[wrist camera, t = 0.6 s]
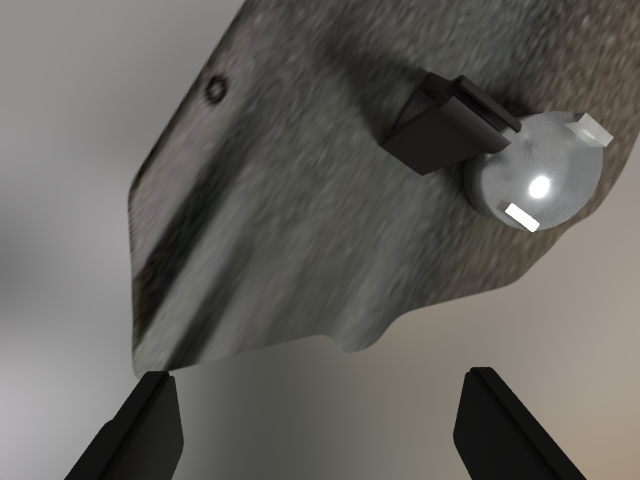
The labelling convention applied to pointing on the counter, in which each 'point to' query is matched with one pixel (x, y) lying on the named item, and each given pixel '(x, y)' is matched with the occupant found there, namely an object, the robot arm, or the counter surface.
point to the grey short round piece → (538, 171)
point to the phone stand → (448, 125)
